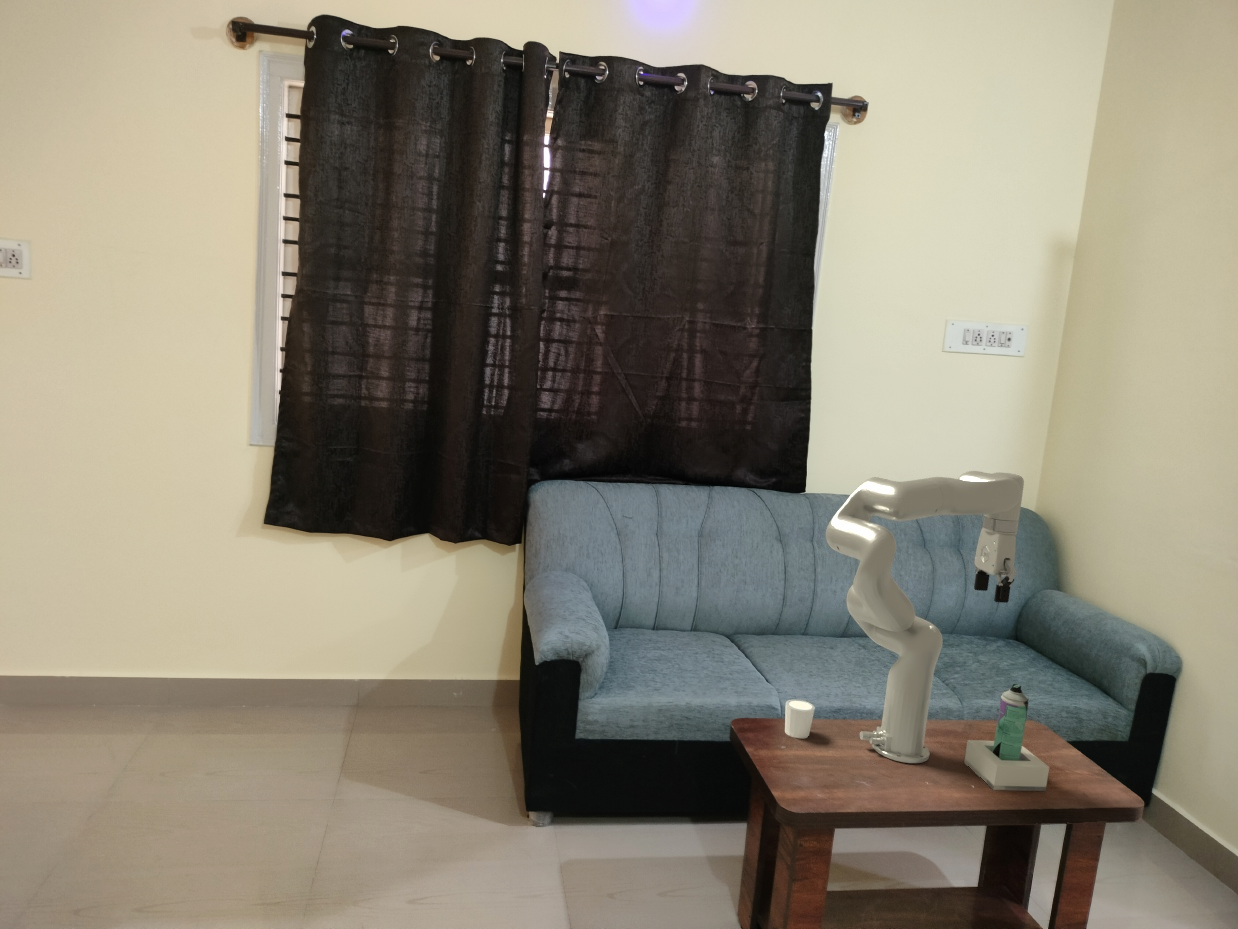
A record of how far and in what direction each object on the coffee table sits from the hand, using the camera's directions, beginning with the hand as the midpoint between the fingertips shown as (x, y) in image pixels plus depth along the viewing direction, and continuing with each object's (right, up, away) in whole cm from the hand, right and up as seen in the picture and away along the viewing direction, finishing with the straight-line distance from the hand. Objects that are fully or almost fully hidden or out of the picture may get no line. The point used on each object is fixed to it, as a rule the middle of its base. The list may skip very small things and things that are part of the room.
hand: (990, 596), depth 204 cm
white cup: (-46, -32, -1) cm, 57 cm away
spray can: (-3, -37, -15) cm, 40 cm away
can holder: (-3, -38, -15) cm, 41 cm away
